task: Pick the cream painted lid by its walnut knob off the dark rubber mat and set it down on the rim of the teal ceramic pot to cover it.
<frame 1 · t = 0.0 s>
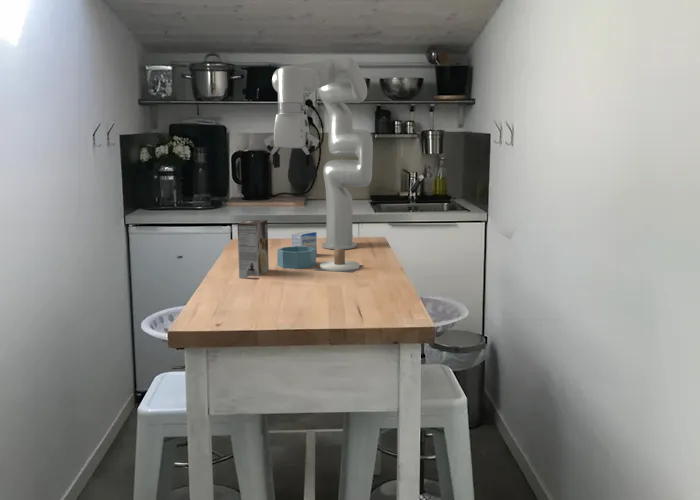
hand: (291, 167, 216), 31 cm above the table, fingers open, 9 cm apart
coffee box: (254, 276, 213), on the table
mat: (339, 270, 220), on the table
pot: (296, 268, 224), on the table
lid: (339, 267, 220), point 1 cm above the table, touching mat
medicine box: (304, 258, 241), on the table
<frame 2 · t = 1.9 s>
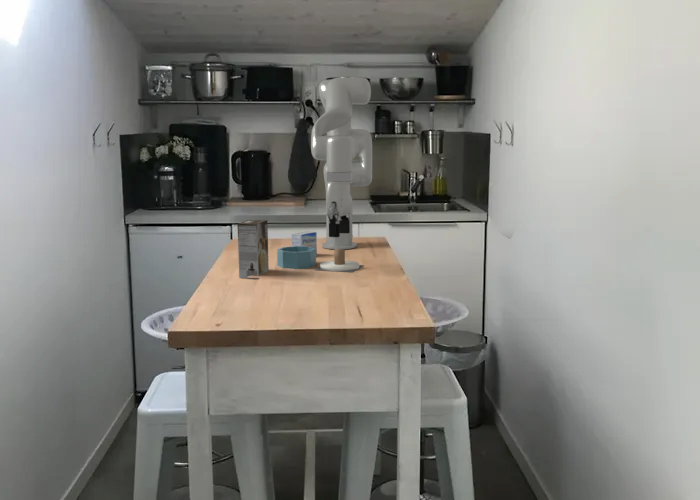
hand: (339, 235, 218), 11 cm above the table, fingers open, 9 cm apart
nothing on the table moved.
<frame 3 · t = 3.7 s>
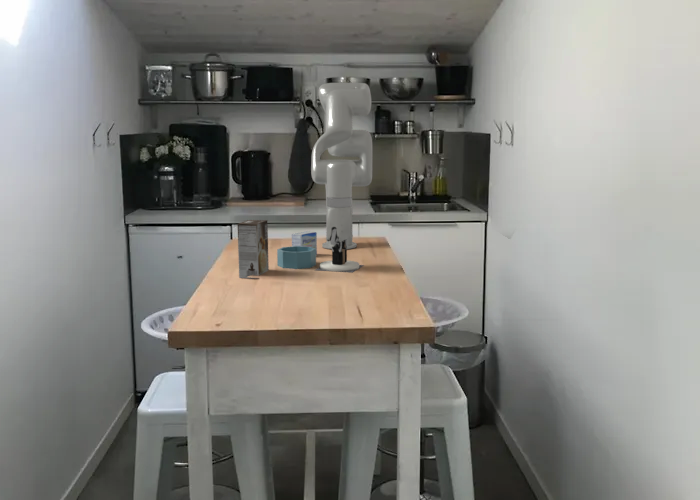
hand: (339, 262, 220), 3 cm above the table, fingers closed on lid, 3 cm apart
lid: (339, 267, 220), point 1 cm above the table, touching gripper, mat
everything else where it was.
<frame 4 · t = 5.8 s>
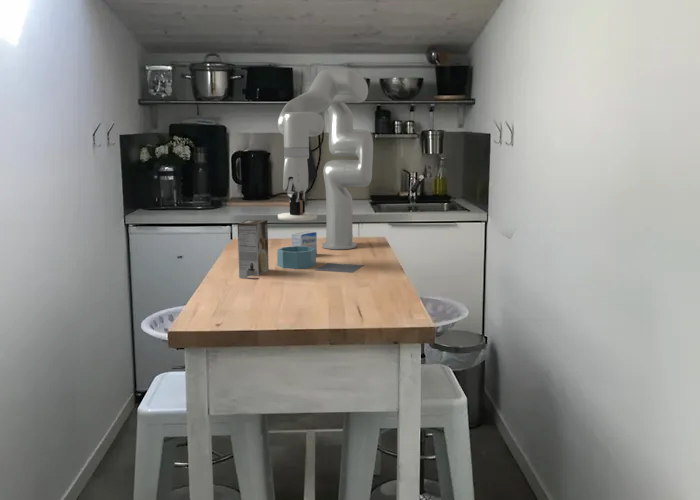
hand: (297, 213, 221), 17 cm above the table, fingers closed on lid, 3 cm apart
lid: (297, 218, 222), point 16 cm above the table, touching gripper
everything else where it was.
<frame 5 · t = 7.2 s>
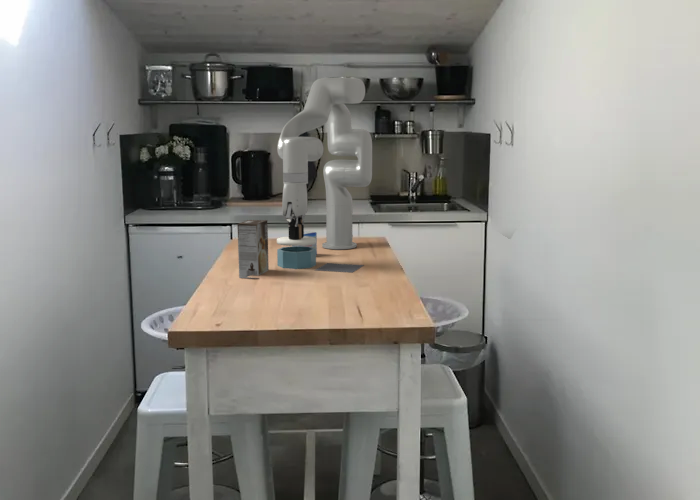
hand: (296, 237, 223), 10 cm above the table, fingers closed on lid, 3 cm apart
lid: (296, 242, 223), point 8 cm above the table, touching gripper
everything else where it was.
when the fingers open (8 cm above the table, at t = 8.1 s): lid stays where it is, resting on pot.
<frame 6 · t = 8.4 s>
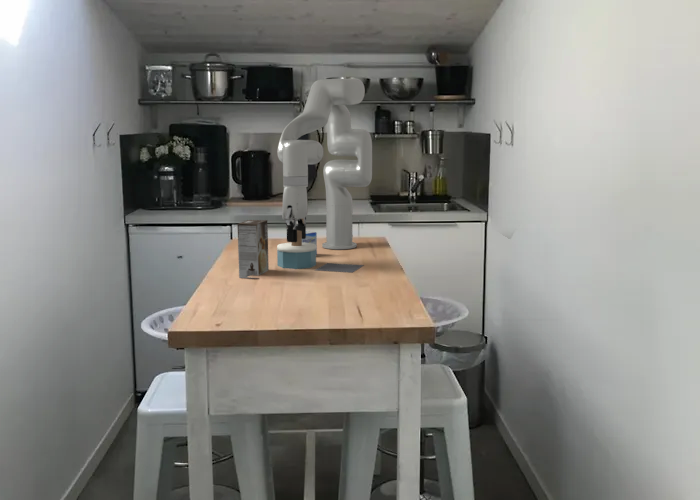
hand: (296, 239, 223), 9 cm above the table, fingers open, 6 cm apart
lid: (296, 249, 223), point 6 cm above the table, touching pot
everything else where it was.
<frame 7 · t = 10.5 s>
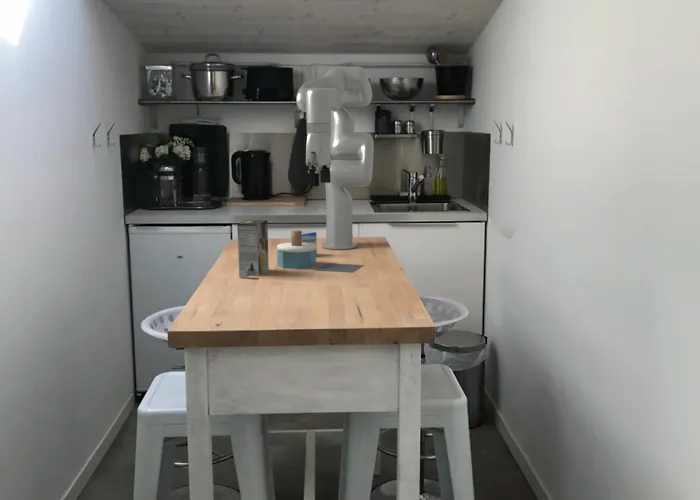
hand: (319, 184, 226), 26 cm above the table, fingers open, 9 cm apart
nothing on the table moved.
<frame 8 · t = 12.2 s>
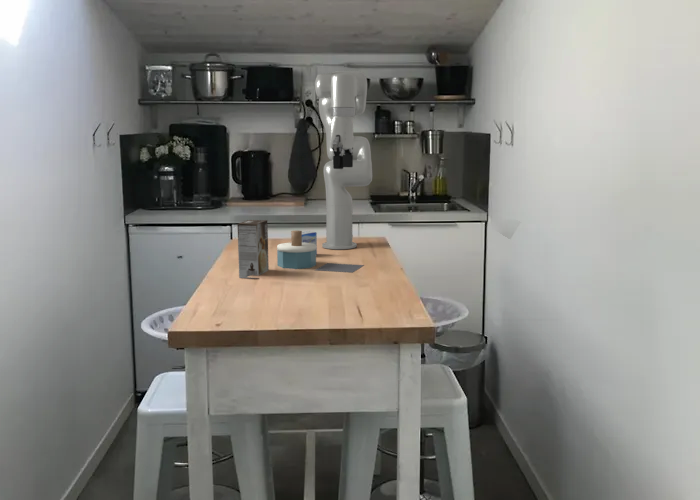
hand: (343, 167, 231), 30 cm above the table, fingers open, 9 cm apart
nothing on the table moved.
at the end: lid 0.1 cm off-centre on the pot, point 6.0 cm above the pot's base; lid tilted 0°; the gripper is holding nothing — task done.
